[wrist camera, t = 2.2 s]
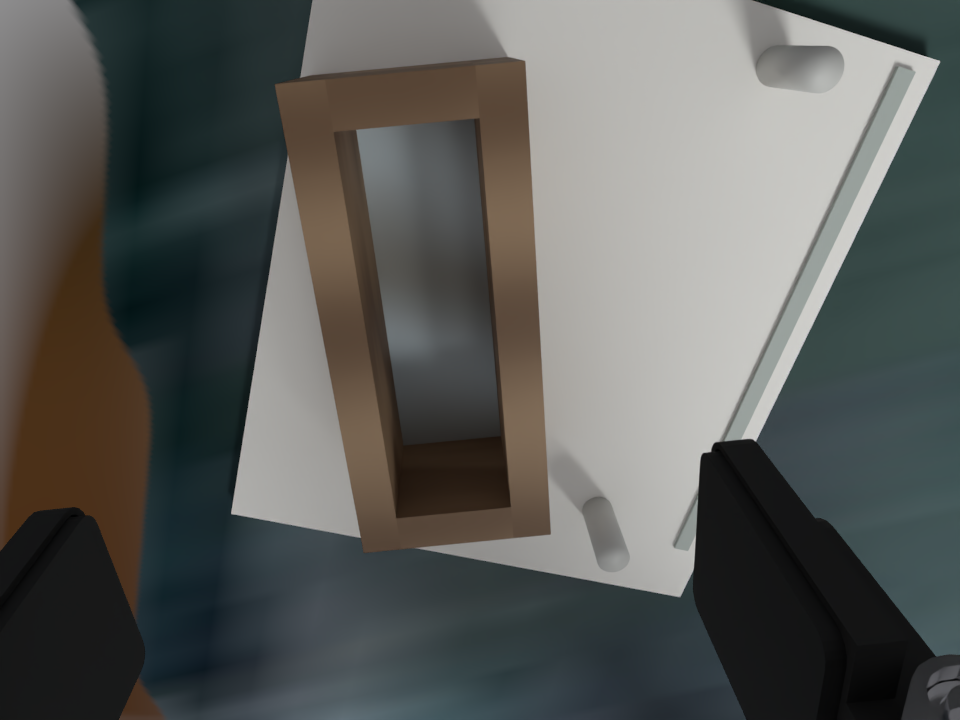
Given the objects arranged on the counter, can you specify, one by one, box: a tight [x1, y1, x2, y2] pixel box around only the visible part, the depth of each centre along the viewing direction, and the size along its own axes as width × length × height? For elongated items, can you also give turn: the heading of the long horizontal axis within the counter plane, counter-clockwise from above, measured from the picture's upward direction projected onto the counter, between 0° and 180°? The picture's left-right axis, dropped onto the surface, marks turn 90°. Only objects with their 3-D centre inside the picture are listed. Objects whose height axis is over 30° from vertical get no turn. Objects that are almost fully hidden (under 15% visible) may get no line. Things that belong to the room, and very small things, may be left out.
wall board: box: [231, 0, 940, 597], centre depth 24 cm, size 22×19×4 cm
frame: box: [275, 57, 551, 553], centre depth 22 cm, size 14×6×5 cm, turn 5°
